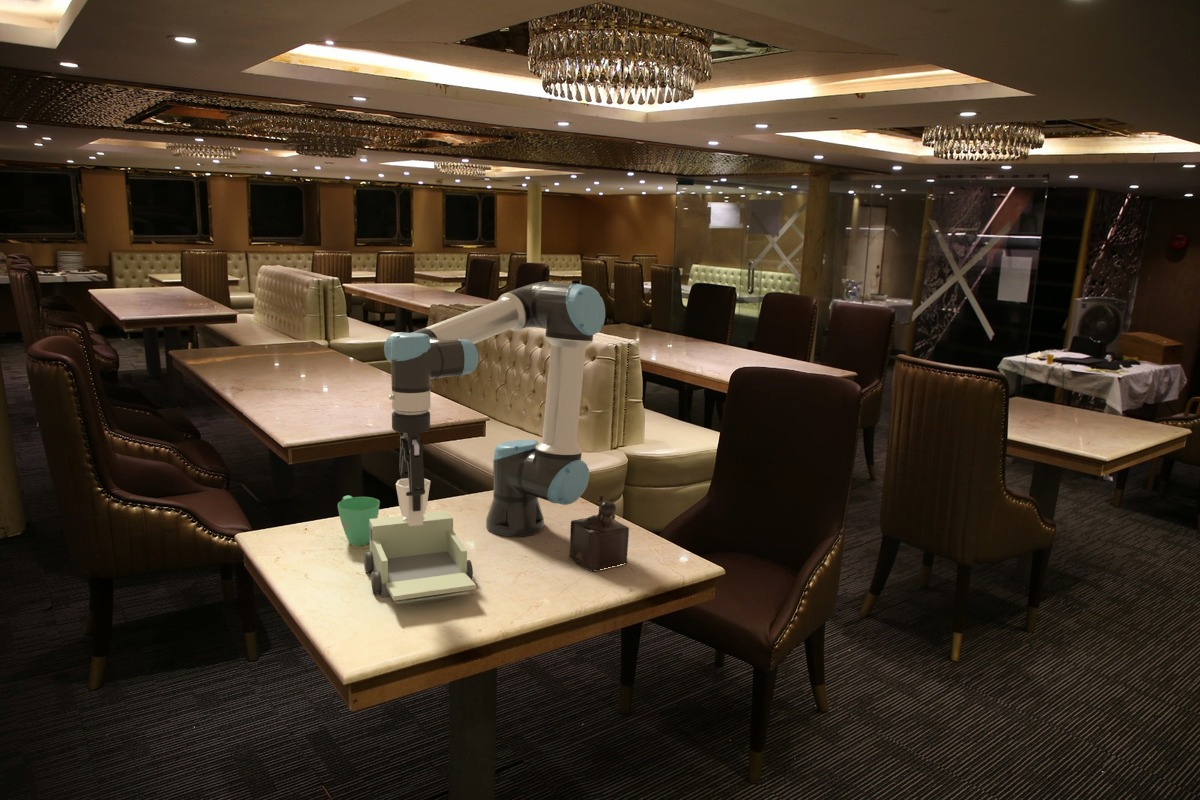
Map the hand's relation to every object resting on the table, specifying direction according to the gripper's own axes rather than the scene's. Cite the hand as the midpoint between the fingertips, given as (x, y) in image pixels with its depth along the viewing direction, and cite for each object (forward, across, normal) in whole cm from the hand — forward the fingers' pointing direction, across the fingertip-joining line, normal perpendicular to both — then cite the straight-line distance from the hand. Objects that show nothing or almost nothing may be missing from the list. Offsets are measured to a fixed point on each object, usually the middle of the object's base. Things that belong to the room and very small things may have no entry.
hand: (411, 516), depth 161 cm
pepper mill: (+18, -4, +45) cm, 49 cm away
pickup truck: (+18, -10, +3) cm, 21 cm away
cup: (0, 0, 0) cm, 0 cm away
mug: (+18, -36, -8) cm, 41 cm away
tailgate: (+15, -1, +3) cm, 15 cm away
